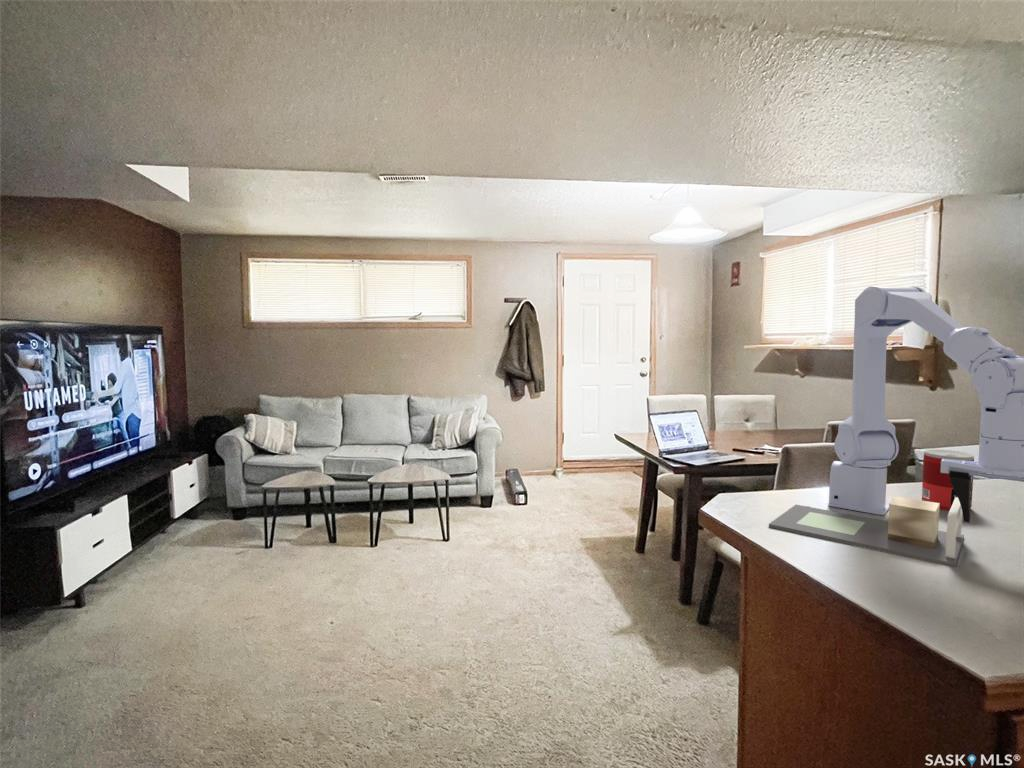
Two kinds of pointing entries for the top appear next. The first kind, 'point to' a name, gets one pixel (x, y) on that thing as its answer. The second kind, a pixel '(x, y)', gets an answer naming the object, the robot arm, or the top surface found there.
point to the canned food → (941, 477)
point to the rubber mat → (860, 533)
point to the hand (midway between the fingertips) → (999, 526)
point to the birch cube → (913, 521)
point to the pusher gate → (953, 527)
